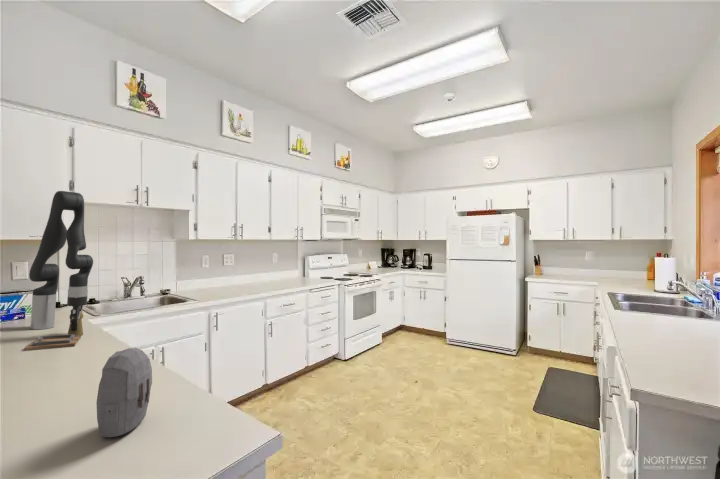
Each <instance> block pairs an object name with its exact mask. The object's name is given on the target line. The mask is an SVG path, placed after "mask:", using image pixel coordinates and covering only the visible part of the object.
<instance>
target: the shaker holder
mask: <svg viewBox="0 0 720 479" xmlns="http://www.w3.org/2000/svg"><path fill="white" fill-rule="evenodd" d="M81 338H82V336H81V335H76V336H75V334H68V333H67V334H55V335H54V334H53V335H42V336H39V337H37V338H35V339H34V340H33V341H31V342H30V343H28V345H26V346H25V347H24V351H25V352H27V351H36V350H51V349H59V348H60V349H61V348H72V347H75V346H76V345H77V344H78V342H79V341H80V340H81Z"/></svg>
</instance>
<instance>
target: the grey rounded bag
mask: <svg viewBox="0 0 720 479" xmlns="http://www.w3.org/2000/svg"><path fill="white" fill-rule="evenodd" d="M152 369H153V368H152V364H151V361H150V357H148V355H147V354H146V352H145V351H144V350H143V349H140V348H137V347H128V348H125V349H123V350H120V351H119V350H117V351H115V352H114V353H113V354H112V355H111V356H109V357H108V359H107V361H106V362H105V364H104V366H103V368H102V370H101V371H102V372H101V378H100V381H99V384H98V389H97V398H96V419H97V425H98V432H99V434H100V435H101V436H102V437H104V438H115V437H119V436H122V435H125V434H127V433H128V432H129V433H130V431H133V430H134V429H135V428H136V427H137V426H139V425H140V424H141V423H142V421H143V420H144V419H145V418H146V416H147V410H148V406H149V403H150V397H151V388H152V385H153V370H152Z"/></svg>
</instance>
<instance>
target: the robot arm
mask: <svg viewBox="0 0 720 479" xmlns="http://www.w3.org/2000/svg"><path fill="white" fill-rule="evenodd" d="M50 205H51V207H50V211H49V215H48V220H47V222H46V225H45V229H44V231H43V234H42V237H41V241H40V244H39V246H38V251H37V254H35V257H34V260H33V262H32V263H31V264H32V265H31V267H30V270H29V273H28V276H29V280H30V281H31V282H33V283H34V282H35V283H41V282H46V283H45V284H43V285H42V286H40V287H37V288H34V289H33V290H32V298H31V310H30V312H31V313H30V330H45V329H50V328H54V327H55V322H56V321H55V320H56V306H57V305H56V304H57V291H58V285H59V278H60V277H59V276H60V267H59V265H58V264H57V263H47V262H48V260H49V259H50V258H51V257H53V256H54V255H55V254H57V253H58V252H60V250H62V248H64V246H65V244H67V250H66V257H65V266H66V267H67V268H68V269H70V270H79V271H78V272H77V273H73V274H71V275H69V278H68V279H69V280H68V282H69V284H68V289H67V302H66V304H67V307H72V309H70V314H71V316H70V315H69V324H70V323H71V331H76V330H77V323H78V319H79V318H80V314H81V313H83V311H84V309H83V306H86V305H87V304H88V293H89V291H88V284H89V283H88V281H89V280H88V279H89V275H90V274H91V271H92V268H93V266H94V259H93V257H92V256H91V254H90V255H89V254H78V253H79V252H80V251H84V250H86V248H87V242H86V236H85V199H84V196H83V195H82V194H81V193H79V192H75V191H66V190H58V191H56V192H55V193H54V194H53V197H52V201H51V204H50ZM63 211H72V212H73V214H74V215H73V220H72V222H71V223H70V225H69V227H68V229H67V227H66V224H65V223H64V222H63V219H62V218H63V217H62V214H63ZM66 242H67V243H66ZM73 319H76V320H73Z"/></svg>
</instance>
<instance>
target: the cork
mask: <svg viewBox="0 0 720 479" xmlns="http://www.w3.org/2000/svg"><path fill="white" fill-rule="evenodd" d="M70 316H71V313H70V314H69V317H70ZM83 318H84V314H83V312H82V313H81V314H80V318H79V319H78V323H77V330H76V331H71V323H70V322H69V327H68V329H67V334H75V336H76V335H81V337H82V336H83V335H84V331H83V330H84V328H83V320H82V319H83ZM73 320H76V319H73Z"/></svg>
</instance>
